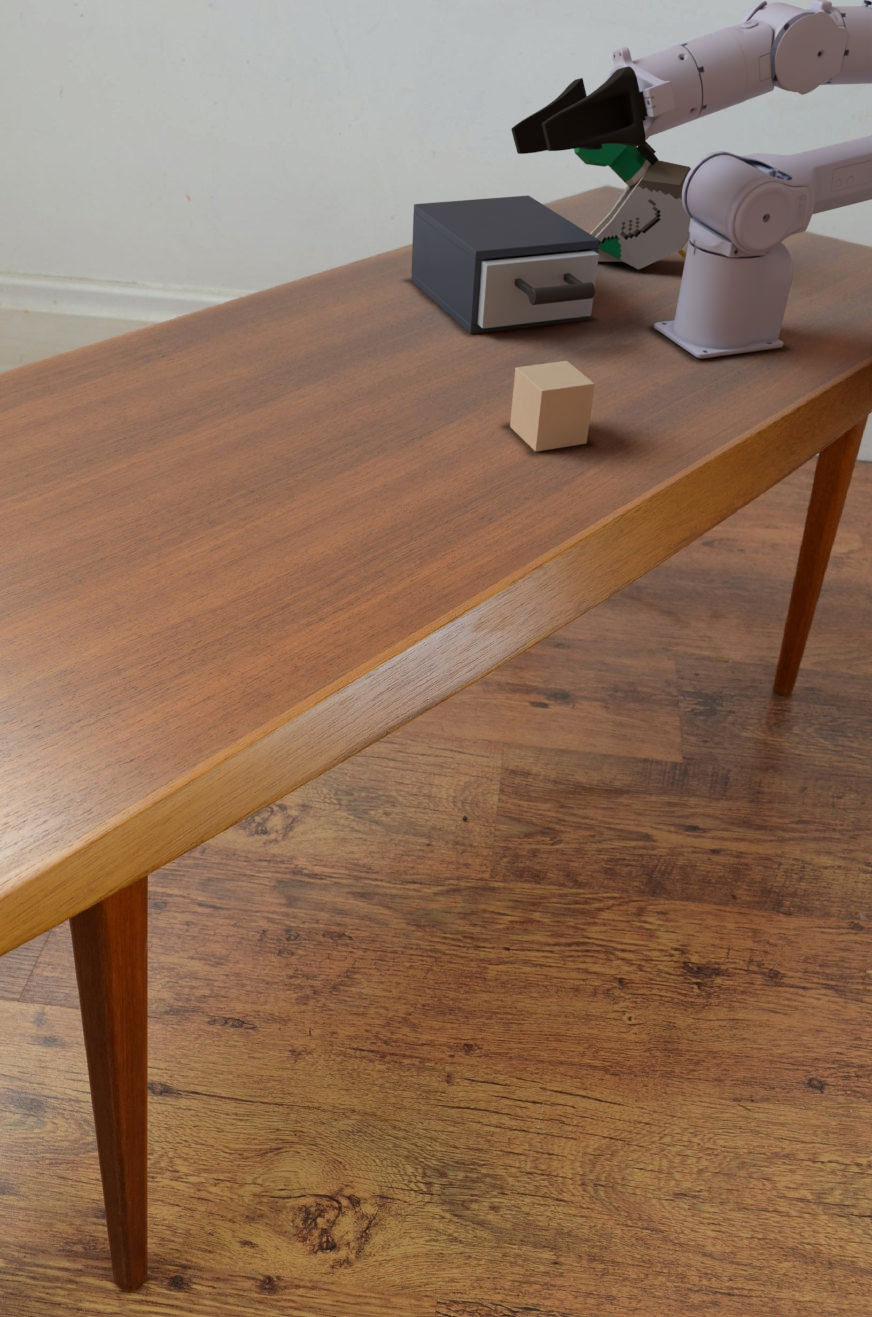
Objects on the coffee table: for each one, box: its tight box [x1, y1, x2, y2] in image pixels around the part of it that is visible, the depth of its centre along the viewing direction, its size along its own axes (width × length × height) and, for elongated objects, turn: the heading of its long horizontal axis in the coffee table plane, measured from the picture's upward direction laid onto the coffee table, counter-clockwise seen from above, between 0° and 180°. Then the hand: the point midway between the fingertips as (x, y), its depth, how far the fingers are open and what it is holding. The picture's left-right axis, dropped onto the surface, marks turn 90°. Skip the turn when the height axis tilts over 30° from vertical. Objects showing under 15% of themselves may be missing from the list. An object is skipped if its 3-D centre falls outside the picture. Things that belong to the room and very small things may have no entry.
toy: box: [573, 140, 692, 270], centre depth 120 cm, size 6×17×20 cm
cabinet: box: [410, 195, 599, 335], centre depth 111 cm, size 15×13×8 cm
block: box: [509, 360, 596, 452], centre depth 89 cm, size 4×4×5 cm
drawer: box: [477, 250, 599, 328], centre depth 108 cm, size 18×11×6 cm, turn 23°
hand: (530, 139), depth 91 cm, fingers open, 7 cm apart
